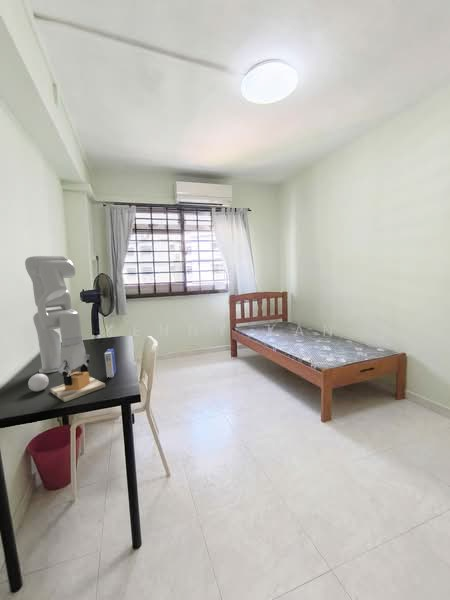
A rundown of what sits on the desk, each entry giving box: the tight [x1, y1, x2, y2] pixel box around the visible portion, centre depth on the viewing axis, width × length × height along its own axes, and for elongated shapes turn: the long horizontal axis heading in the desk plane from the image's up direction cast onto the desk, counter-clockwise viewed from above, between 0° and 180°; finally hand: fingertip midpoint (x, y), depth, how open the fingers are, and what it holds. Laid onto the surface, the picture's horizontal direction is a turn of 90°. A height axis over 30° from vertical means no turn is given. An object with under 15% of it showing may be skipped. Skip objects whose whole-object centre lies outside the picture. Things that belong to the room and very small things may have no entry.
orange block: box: [65, 371, 90, 390], centre depth 114 cm, size 7×7×5 cm
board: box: [49, 375, 106, 403], centre depth 114 cm, size 16×16×6 cm
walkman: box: [104, 348, 117, 379], centre depth 129 cm, size 8×3×12 cm, turn 11°
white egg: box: [27, 373, 50, 392], centre depth 114 cm, size 10×7×7 cm
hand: (77, 380), depth 114 cm, fingers open, 9 cm apart
